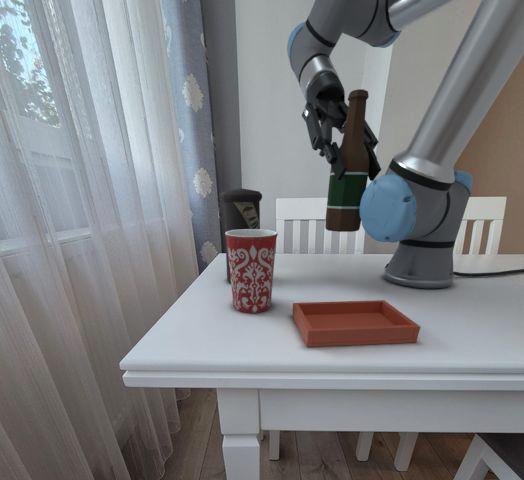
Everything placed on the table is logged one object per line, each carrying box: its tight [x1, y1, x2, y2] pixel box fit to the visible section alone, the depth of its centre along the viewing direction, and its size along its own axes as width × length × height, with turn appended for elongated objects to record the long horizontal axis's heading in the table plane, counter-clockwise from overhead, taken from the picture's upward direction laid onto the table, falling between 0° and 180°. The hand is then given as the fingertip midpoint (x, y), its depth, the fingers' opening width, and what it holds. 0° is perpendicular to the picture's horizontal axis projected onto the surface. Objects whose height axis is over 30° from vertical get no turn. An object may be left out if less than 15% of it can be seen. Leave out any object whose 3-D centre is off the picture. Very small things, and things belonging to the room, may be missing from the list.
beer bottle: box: [324, 88, 370, 233], centre depth 60 cm, size 8×8×24 cm
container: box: [219, 188, 263, 284], centre depth 68 cm, size 9×9×20 cm
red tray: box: [291, 299, 421, 348], centre depth 47 cm, size 17×12×3 cm
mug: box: [224, 228, 279, 314], centre depth 55 cm, size 13×9×14 cm
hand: (359, 174), depth 58 cm, fingers closed on beer bottle, 7 cm apart
